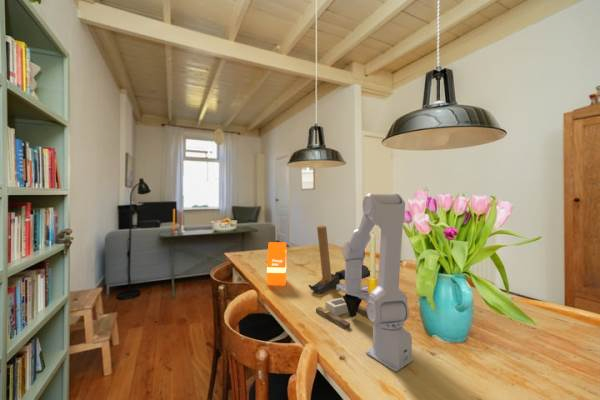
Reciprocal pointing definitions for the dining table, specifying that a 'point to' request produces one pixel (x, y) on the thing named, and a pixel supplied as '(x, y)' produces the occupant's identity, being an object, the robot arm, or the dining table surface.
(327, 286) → the hammer
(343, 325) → the guide rails
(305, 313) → the dining table surface
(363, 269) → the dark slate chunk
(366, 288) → the smartphone
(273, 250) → the orange juice
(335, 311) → the block
